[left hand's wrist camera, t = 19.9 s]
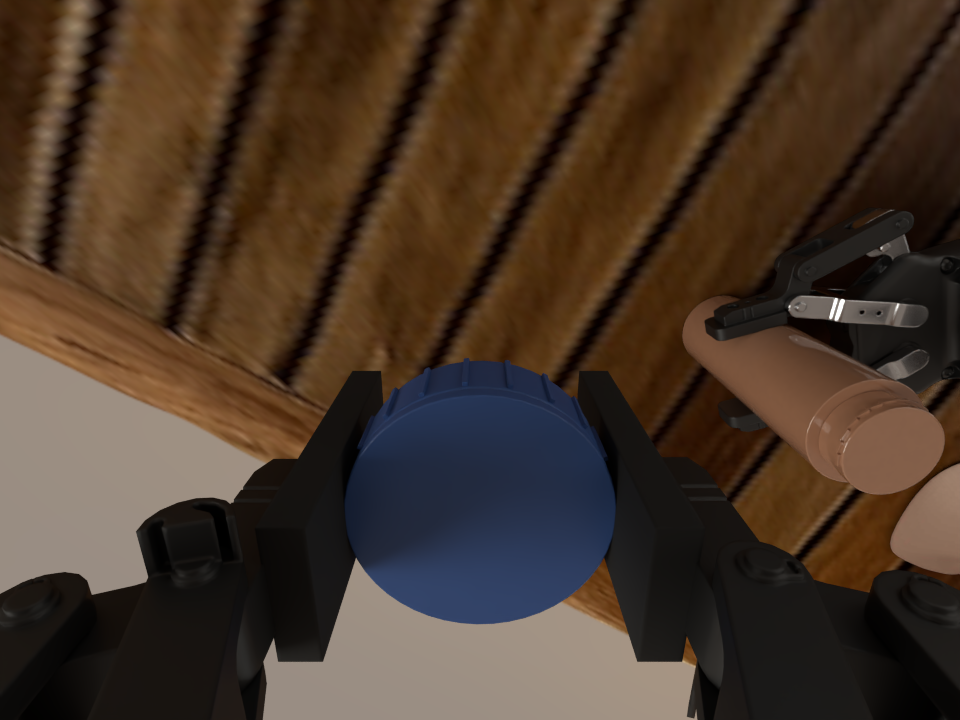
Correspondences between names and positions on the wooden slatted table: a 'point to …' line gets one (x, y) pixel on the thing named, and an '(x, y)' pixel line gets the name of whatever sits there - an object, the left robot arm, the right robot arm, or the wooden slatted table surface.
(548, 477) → the lid
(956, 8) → the wooden slatted table surface
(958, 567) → the anatomical model
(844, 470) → the brown tall cylinder
